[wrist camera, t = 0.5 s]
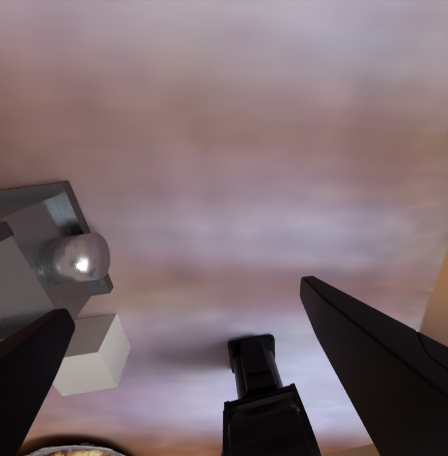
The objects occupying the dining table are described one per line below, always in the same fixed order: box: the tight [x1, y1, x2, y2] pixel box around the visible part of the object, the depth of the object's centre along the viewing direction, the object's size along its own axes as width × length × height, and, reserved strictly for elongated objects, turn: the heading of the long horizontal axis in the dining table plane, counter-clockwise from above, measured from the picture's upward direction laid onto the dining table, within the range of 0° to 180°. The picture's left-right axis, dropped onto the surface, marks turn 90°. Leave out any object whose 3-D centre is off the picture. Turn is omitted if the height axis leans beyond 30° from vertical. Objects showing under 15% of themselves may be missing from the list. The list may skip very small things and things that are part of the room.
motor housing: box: [0, 181, 113, 342], centre depth 17 cm, size 12×14×8 cm
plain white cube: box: [53, 314, 131, 396], centre depth 24 cm, size 6×6×5 cm
